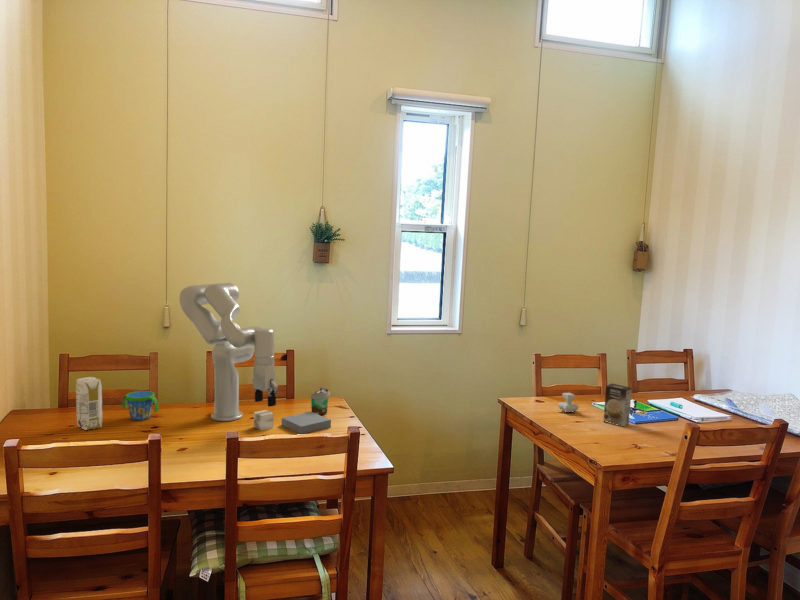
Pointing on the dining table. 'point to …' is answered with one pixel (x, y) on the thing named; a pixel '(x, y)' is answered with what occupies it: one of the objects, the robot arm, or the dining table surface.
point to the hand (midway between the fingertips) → (265, 403)
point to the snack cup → (140, 404)
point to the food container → (320, 401)
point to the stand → (306, 422)
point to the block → (263, 420)
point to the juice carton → (89, 403)
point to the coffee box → (617, 404)
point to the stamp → (568, 403)
